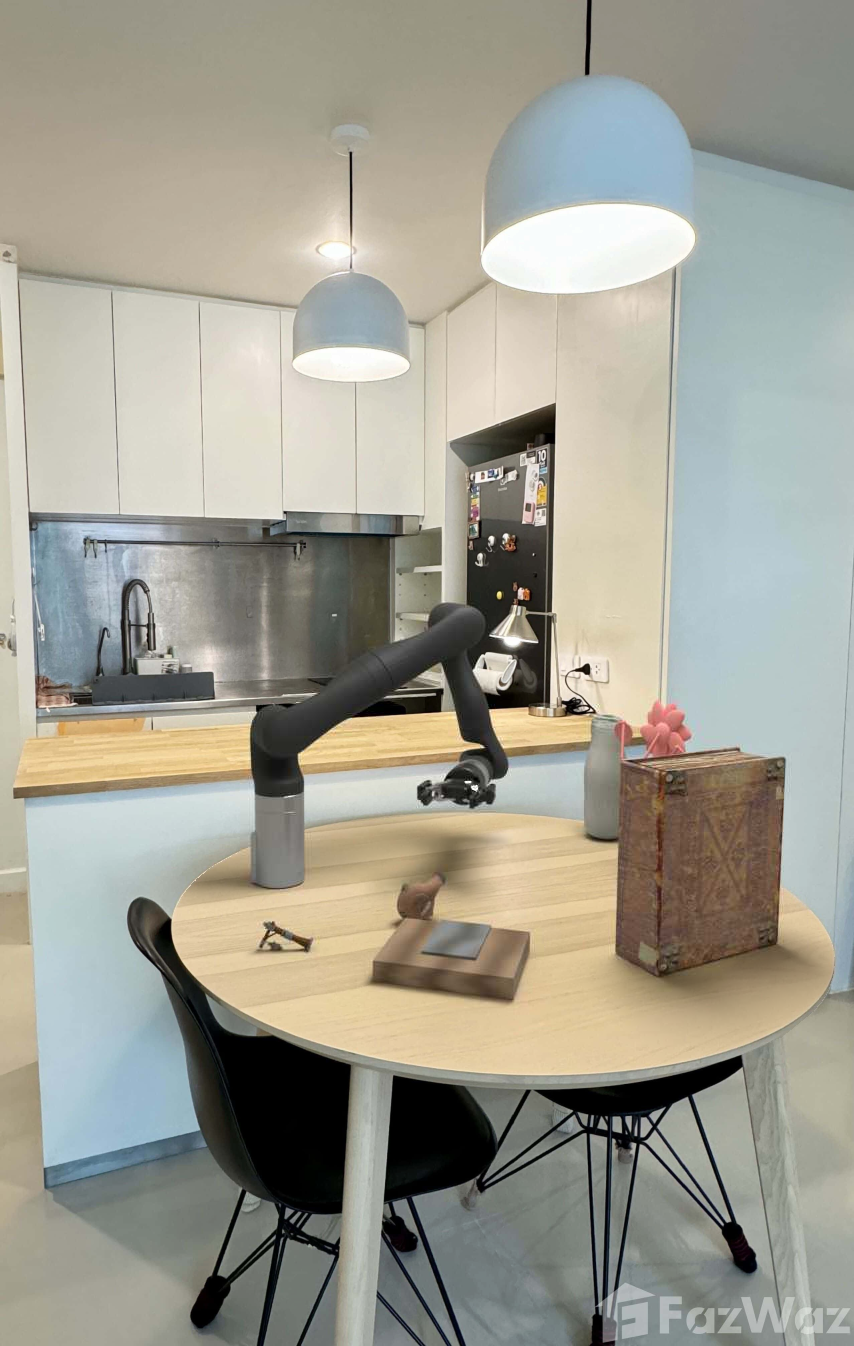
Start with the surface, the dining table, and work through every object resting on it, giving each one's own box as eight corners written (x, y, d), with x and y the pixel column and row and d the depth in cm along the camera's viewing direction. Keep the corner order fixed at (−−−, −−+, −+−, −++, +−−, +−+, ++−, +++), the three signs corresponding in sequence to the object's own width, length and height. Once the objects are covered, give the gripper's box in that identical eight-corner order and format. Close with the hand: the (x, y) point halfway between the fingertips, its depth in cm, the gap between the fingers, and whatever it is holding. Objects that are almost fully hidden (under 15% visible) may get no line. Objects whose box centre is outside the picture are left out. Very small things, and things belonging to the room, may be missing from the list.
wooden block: (372, 980, 117) (372, 957, 116) (404, 935, 132) (404, 915, 132) (513, 999, 112) (513, 975, 111) (529, 950, 127) (530, 929, 127)
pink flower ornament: (677, 912, 142) (687, 711, 140) (587, 867, 166) (595, 694, 163) (743, 901, 149) (755, 708, 146) (648, 859, 172) (657, 693, 169)
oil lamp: (440, 911, 142) (440, 866, 142) (451, 920, 139) (452, 873, 138) (393, 920, 138) (393, 874, 138) (403, 929, 135) (403, 881, 134)
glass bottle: (623, 832, 191) (627, 712, 188) (629, 845, 181) (634, 718, 178) (580, 830, 192) (583, 711, 189) (584, 843, 182) (587, 717, 179)
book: (731, 923, 138) (739, 746, 135) (778, 944, 130) (787, 756, 127) (614, 953, 126) (620, 760, 123) (657, 978, 118) (665, 772, 115)
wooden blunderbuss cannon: (254, 941, 128) (266, 916, 127) (302, 962, 128) (314, 936, 128) (252, 946, 126) (264, 920, 125) (301, 967, 126) (312, 941, 126)
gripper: (432, 760, 164) (409, 778, 149) (503, 764, 161) (487, 783, 145) (432, 797, 165) (409, 819, 149) (502, 802, 161) (487, 825, 146)
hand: (447, 801), depth 147 cm, fingers open, 8 cm apart
